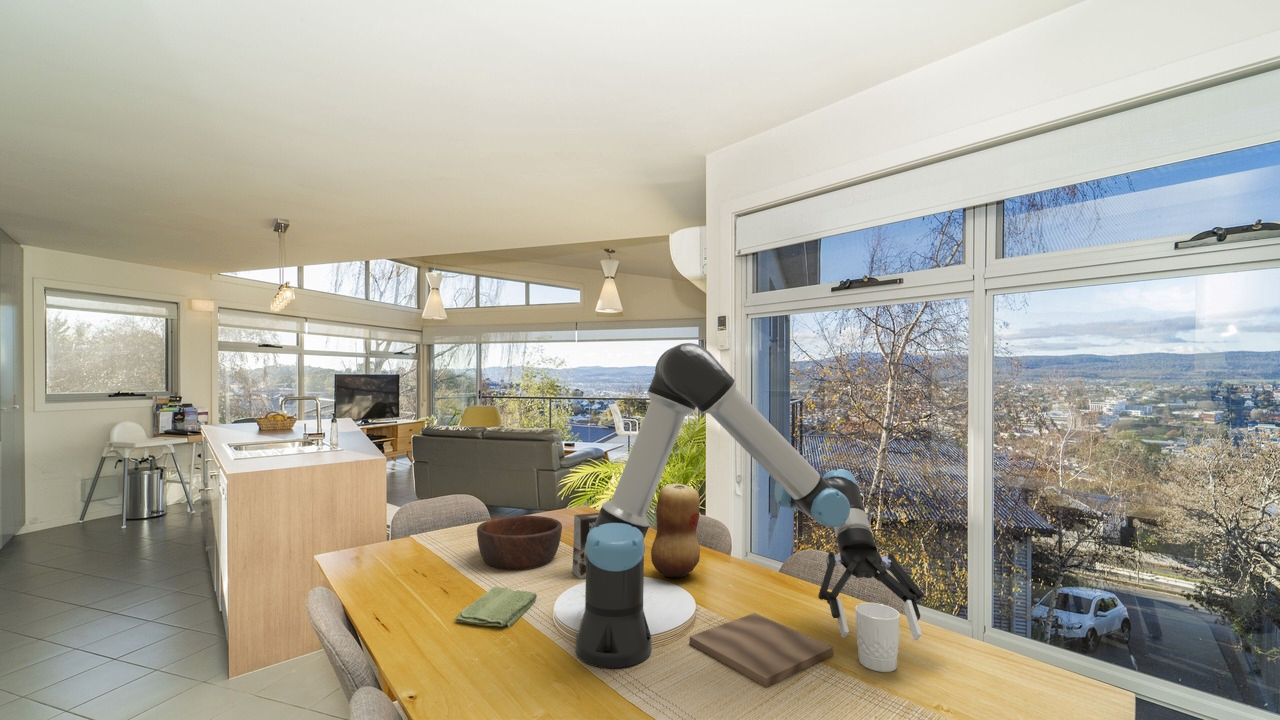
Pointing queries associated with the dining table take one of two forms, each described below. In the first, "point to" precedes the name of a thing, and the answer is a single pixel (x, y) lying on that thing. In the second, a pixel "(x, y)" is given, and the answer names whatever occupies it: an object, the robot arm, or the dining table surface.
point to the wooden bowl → (519, 541)
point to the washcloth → (497, 608)
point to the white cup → (877, 636)
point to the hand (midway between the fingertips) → (881, 636)
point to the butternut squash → (676, 531)
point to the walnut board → (761, 648)
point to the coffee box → (581, 542)
